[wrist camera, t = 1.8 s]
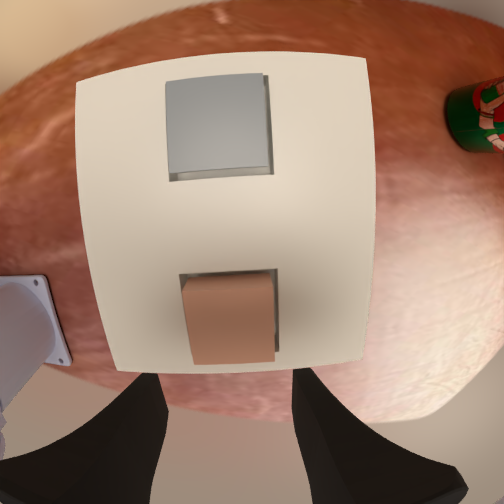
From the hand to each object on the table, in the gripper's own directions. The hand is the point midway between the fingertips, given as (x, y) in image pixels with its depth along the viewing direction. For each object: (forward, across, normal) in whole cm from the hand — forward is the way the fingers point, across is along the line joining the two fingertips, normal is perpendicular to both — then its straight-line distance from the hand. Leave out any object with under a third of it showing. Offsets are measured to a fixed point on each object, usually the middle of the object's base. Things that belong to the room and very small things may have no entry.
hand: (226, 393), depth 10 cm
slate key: (+6, 0, -10) cm, 12 cm away
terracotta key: (+6, 0, 0) cm, 6 cm away
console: (+9, 0, -5) cm, 11 cm away
